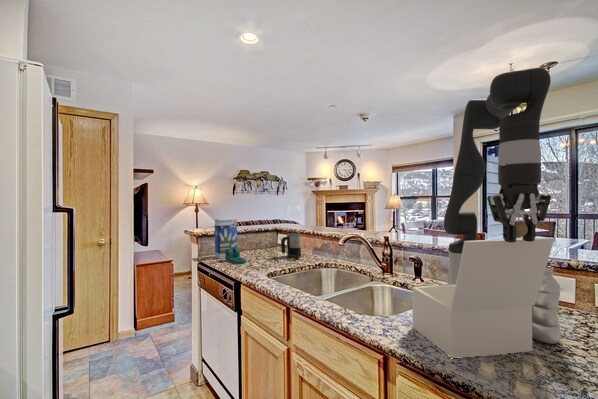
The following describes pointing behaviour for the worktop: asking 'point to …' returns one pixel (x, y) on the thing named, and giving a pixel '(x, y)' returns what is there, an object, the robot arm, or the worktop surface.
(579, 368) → the worktop surface
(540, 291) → the plastic bottle
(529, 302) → the carton lid
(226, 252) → the green toy boot
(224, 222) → the string lights box
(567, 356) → the worktop surface
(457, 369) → the worktop surface
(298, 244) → the milk frother
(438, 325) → the carton
